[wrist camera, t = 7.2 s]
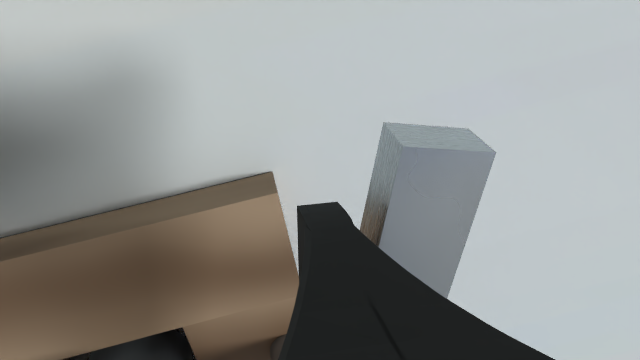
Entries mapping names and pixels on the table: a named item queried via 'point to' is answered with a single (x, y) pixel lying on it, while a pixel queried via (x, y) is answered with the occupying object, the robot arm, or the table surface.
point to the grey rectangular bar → (426, 197)
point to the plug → (148, 348)
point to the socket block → (155, 277)
